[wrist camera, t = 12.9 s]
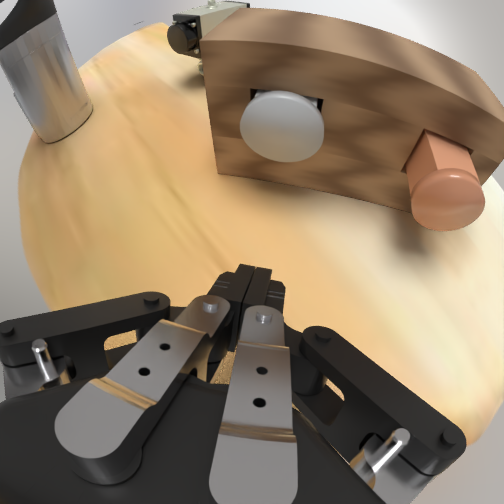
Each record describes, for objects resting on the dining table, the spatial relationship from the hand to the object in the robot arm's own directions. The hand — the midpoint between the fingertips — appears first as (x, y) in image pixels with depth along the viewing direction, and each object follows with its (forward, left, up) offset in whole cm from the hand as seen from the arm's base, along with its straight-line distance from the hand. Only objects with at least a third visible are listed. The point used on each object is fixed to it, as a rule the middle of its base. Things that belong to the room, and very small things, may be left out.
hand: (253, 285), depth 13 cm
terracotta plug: (+12, +13, -2) cm, 18 cm away
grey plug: (0, +16, -2) cm, 16 cm away
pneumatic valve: (-12, +32, -7) cm, 35 cm away
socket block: (+6, +17, -7) cm, 19 cm away
